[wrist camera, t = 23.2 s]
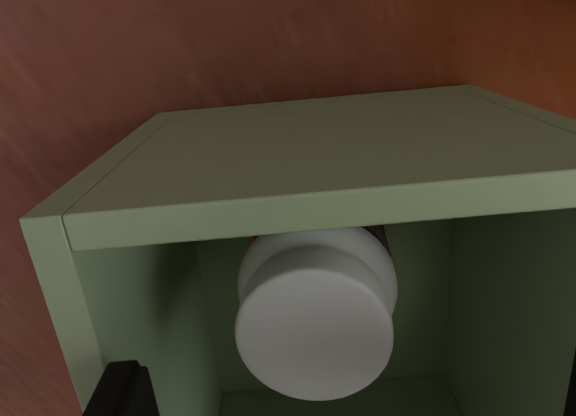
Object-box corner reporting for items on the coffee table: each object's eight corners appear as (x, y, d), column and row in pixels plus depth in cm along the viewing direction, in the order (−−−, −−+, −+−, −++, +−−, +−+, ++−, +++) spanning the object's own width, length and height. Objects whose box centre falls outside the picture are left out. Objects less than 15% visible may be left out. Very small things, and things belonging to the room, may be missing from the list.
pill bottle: (249, 177, 19) (190, 279, 11) (363, 146, 18) (385, 232, 10) (283, 277, 21) (252, 427, 13) (390, 252, 20) (428, 398, 12)
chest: (156, 112, 19) (16, 219, 9) (470, 83, 19) (697, 158, 9) (211, 393, 24) (163, 657, 14) (453, 373, 24) (579, 626, 14)
